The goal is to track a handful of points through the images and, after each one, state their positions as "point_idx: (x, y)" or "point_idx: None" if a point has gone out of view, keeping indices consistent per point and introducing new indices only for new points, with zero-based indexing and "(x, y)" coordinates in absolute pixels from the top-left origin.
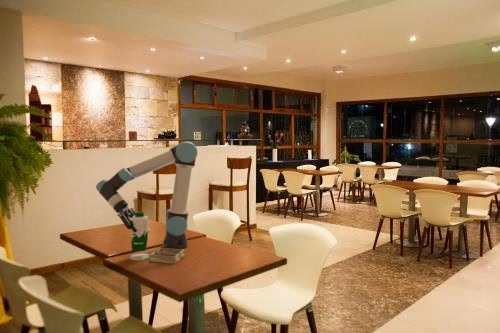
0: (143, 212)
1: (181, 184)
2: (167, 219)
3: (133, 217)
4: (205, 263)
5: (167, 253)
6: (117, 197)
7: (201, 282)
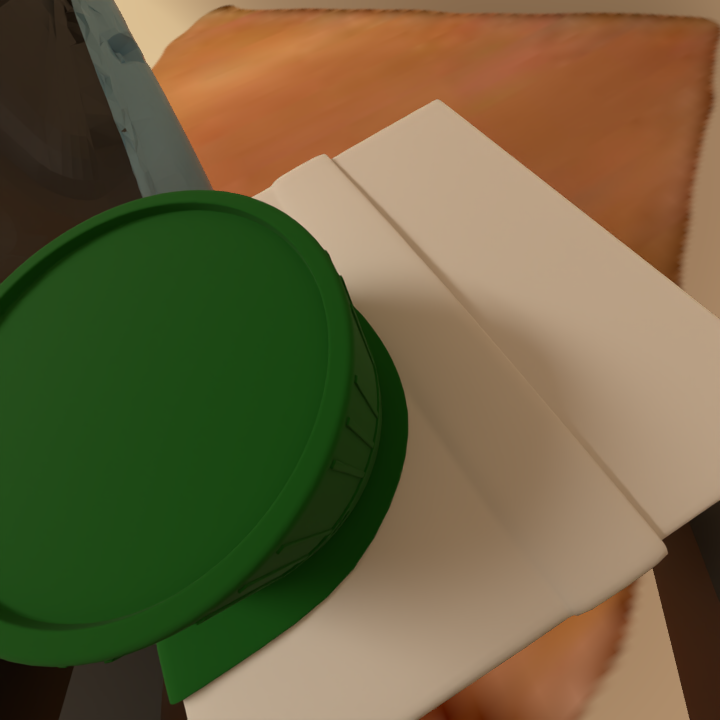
0: (40, 250)
1: None
2: (51, 156)
3: (618, 489)
4: (350, 132)
5: None
6: None
7: (564, 36)
